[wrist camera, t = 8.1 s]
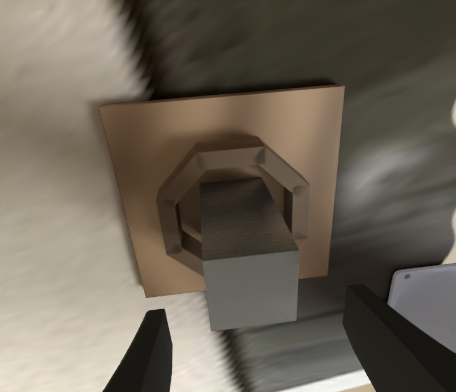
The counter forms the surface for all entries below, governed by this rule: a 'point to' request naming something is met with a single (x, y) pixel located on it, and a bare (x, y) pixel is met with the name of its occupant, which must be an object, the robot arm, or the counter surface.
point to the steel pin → (246, 256)
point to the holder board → (223, 172)
